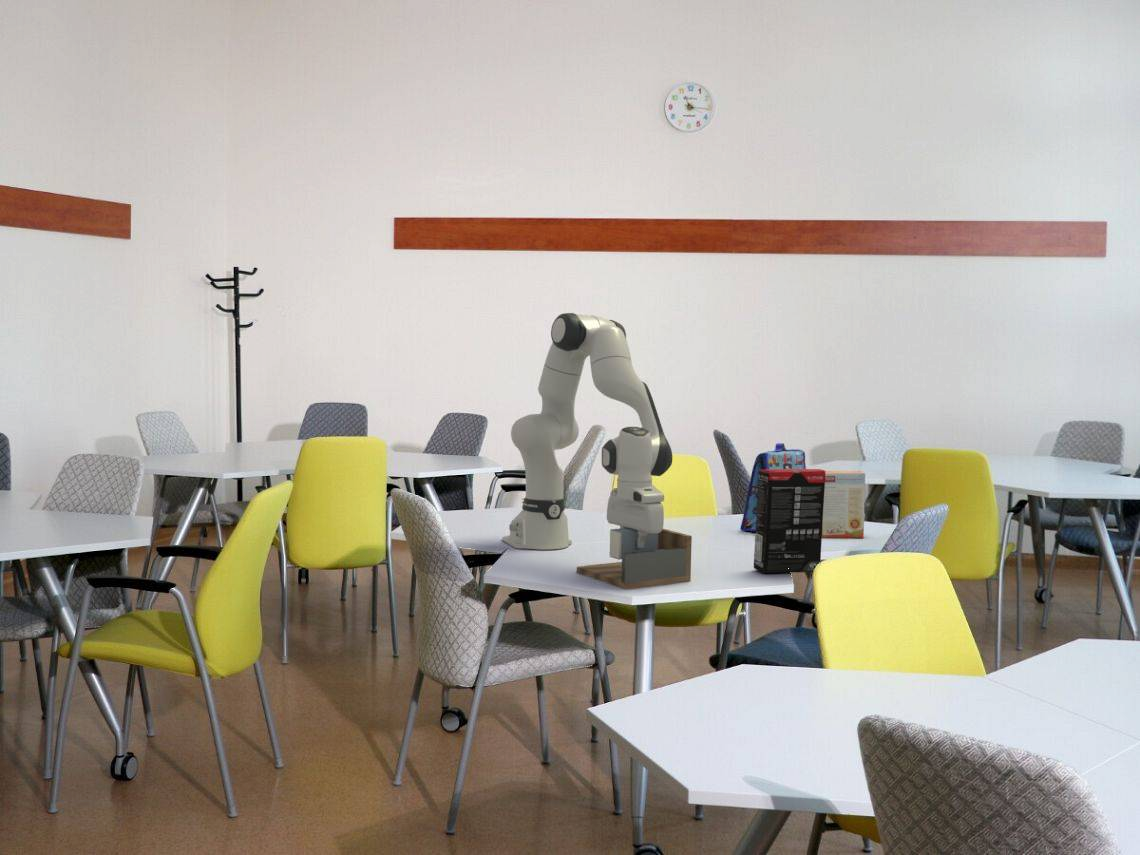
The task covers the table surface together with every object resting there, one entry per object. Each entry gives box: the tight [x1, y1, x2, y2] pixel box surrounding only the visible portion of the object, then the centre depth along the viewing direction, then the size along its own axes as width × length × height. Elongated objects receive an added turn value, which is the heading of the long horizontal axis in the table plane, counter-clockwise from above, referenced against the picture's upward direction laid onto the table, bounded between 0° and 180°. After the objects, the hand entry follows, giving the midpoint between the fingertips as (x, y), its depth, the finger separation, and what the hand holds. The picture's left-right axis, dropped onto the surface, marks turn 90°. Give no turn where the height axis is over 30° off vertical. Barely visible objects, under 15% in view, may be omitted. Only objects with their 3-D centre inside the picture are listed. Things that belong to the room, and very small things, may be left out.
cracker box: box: [822, 470, 866, 539], centre depth 332 cm, size 14×6×21 cm, turn 92°
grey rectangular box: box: [609, 527, 658, 561], centre depth 265 cm, size 4×12×7 cm, turn 122°
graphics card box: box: [753, 468, 826, 574], centre depth 276 cm, size 17×7×27 cm, turn 107°
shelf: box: [576, 528, 693, 590], centre depth 266 cm, size 22×20×12 cm
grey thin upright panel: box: [621, 547, 687, 583], centre depth 257 cm, size 2×18×7 cm, turn 121°
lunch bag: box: [740, 442, 807, 533], centre depth 342 cm, size 22×14×29 cm, turn 131°
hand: (633, 546), depth 265 cm, fingers closed on grey rectangular box, 4 cm apart
